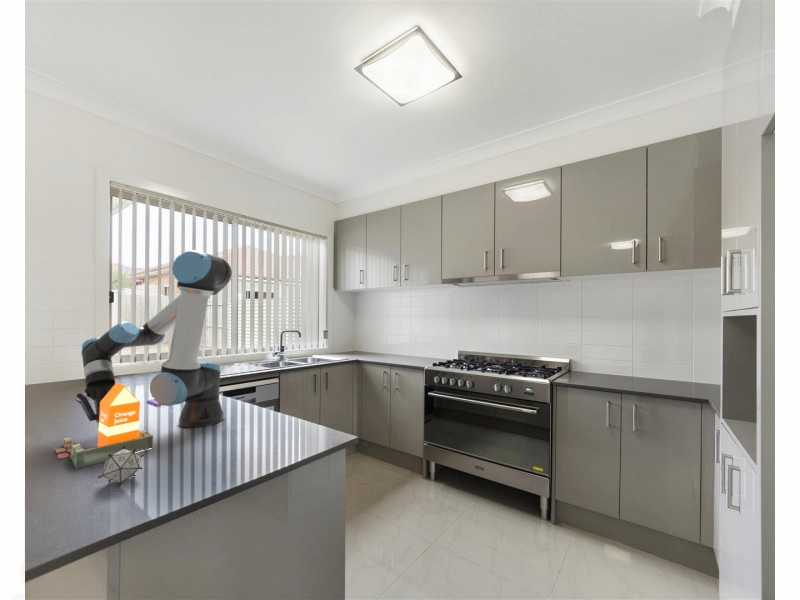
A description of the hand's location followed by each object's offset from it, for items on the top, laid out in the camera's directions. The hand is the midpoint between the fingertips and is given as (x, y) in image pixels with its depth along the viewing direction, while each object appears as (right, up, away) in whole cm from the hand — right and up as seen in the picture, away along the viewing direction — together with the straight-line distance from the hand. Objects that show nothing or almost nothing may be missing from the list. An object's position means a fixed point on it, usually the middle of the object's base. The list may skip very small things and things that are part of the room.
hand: (107, 436), depth 104 cm
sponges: (-22, -7, +54) cm, 59 cm away
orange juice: (+5, -4, -2) cm, 6 cm away
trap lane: (0, -4, 0) cm, 4 cm away
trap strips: (-9, -3, -5) cm, 11 cm away
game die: (+22, -3, -22) cm, 31 cm away
